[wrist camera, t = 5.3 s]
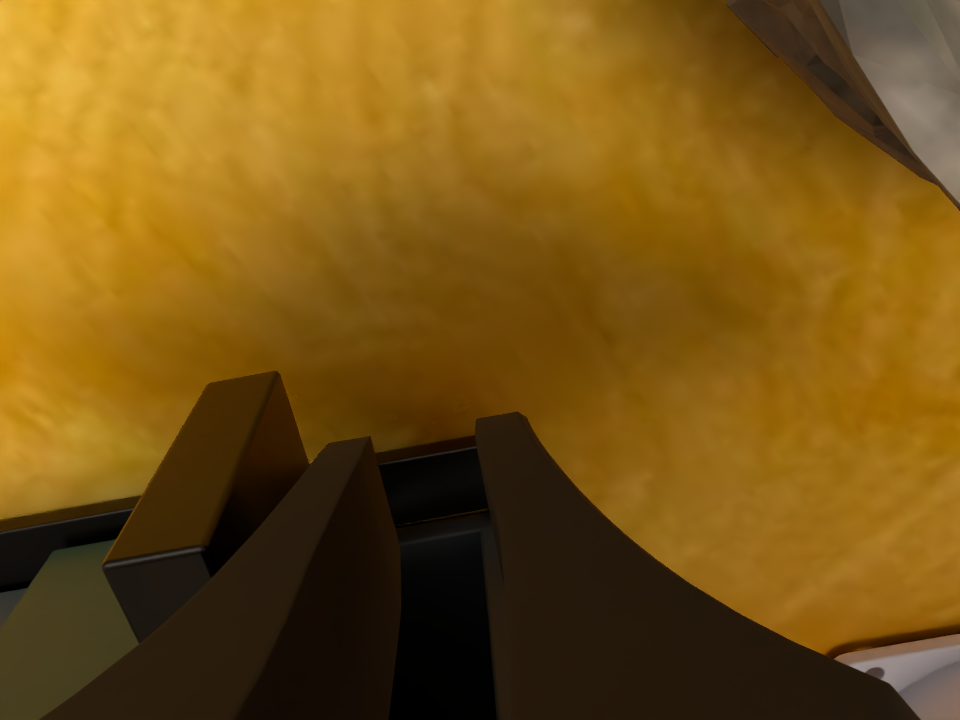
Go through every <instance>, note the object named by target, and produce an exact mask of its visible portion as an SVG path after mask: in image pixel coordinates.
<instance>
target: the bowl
mask: <svg viewBox="0 0 960 720" xmlns="http://www.w3.org/2000/svg"><path fill="white" fill-rule="evenodd" d="M726 2H727V5H728V7H729V8H730V10H731V11H732V12H733V13H734V14H735V15H736V16H737V17H738V18H739V19H740V20H741V21H742V22H743V23H744V24H745V25H746V26H747V27H748V28H749V29H750V30H751V31H752V32H753V33H754V34H755V35H756V36H757V37H758V38H759V39H760V40H761V41H762V42H763V43H764V44H765V45H766V46H767V47H768V48H769V49H770V51H771V52H772V53H773V54H774V55H776V56H777V57H779V58H781V59H782V60H783V61H784V62H785V63H786V64H787V65H788V66H789V67H790V68H791V69H792V70H793V71H794V72H795V73H796V74H797V75H798V76H799V77H800V78H801V79H802V80H803V81H804V82H805V83H806V84H807V85H808V86H809V87H810V88H811V89H812V90H813V91H814V92H815V93H816V94H817V96H818V97H819V98H820V99H821V100H822V101H823V102H824V103H825V105H826V106H827V107H828V108H829V109H830V110H831V111H832V112H833V114H834V115H835V116H836V117H837V118H839V119H840V120H842V121H843V122H844V123H846V124H847V125H849V126H850V127H851V128H853V129H854V130H856V131H857V132H858V133H860V134H861V135H862V136H864V137H865V138H867V139H868V140H869V141H871V142H872V143H874V144H875V145H876V146H878V147H879V148H880V149H882V150H883V151H885V152H886V153H887V154H889V155H890V156H892V157H893V158H894V159H896V160H897V161H898V162H900V163H901V164H903V165H904V166H905V167H907V168H908V169H910V170H911V171H912V172H914V173H915V174H917V175H918V176H919V177H921V178H923V179H925V180H927V181H930V182H932V183H934V184H936V185H938V186H939V187H940V188H941V189H942V191H943V192H944V193H945V194H946V195H947V197H948V198H949V199H950V200H951V201H952V202H953V204H954V205H955V206H956V207H957V208H958V209H959V211H960V0H726Z"/></svg>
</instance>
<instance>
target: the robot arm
mask: <svg viewBox="0 0 960 720" xmlns="http://www.w3.org/2000/svg"><path fill="white" fill-rule="evenodd" d="M475 440H476V446H477V451H478V456H479V461H480V466H481V471H482V476H483V481H484V487H485V492H486V497H487V502H488V507H489V512H490V517H491V522H492V527H493V532H494V537H495V542H496V547H497V552H498V557H499V562H500V567H501V573H502V578H503V583H504V589H505V604H506V619H507V633H508V652H509V671H510V691H511V720H960V634H954V635H948V636H942V637H937V638H931V639H925V640H919V641H913V642H908V643H902V644H896V645H890V646H884V647H878V648H873V649H867V650H861V651H855V652H849V653H845V654H842V655H839V656H838V657H836V658H834V659H832V658H830V657H827V656H825V655H823V654H820V653H818V652H816V651H813V650H811V649H809V648H806V647H804V646H802V645H799V644H797V643H795V642H793V641H791V640H789V639H787V638H785V637H783V636H781V635H779V634H777V633H775V632H773V631H771V630H769V629H768V628H766V627H764V626H762V625H760V624H758V623H756V622H754V621H752V620H750V619H748V618H746V617H745V616H743V615H741V614H739V613H737V612H736V611H734V610H732V609H731V608H729V607H728V606H726V605H724V604H723V603H721V602H719V601H718V600H716V599H715V598H713V597H711V596H710V595H708V594H706V593H705V592H703V591H702V590H700V589H698V588H697V587H695V586H693V585H692V584H690V583H689V582H687V581H686V580H684V579H683V578H681V577H680V576H679V575H677V574H676V573H674V572H673V571H672V570H670V569H669V568H668V567H666V566H665V565H663V564H662V563H661V562H659V561H658V560H657V559H655V558H654V557H653V556H651V555H650V554H649V553H648V552H646V551H645V550H644V549H643V548H641V547H640V546H639V545H638V544H636V543H635V542H634V541H633V540H631V539H630V538H629V537H628V536H627V535H626V534H624V533H623V532H622V531H621V530H620V529H619V528H618V527H617V526H616V525H614V524H613V523H612V522H611V521H610V520H609V519H608V518H607V517H606V516H605V515H604V514H603V513H602V512H601V511H600V510H599V509H598V508H597V507H596V506H594V505H593V504H592V503H591V502H590V501H589V499H588V498H587V497H586V496H585V495H584V494H583V493H582V492H581V491H580V490H579V489H578V488H577V487H576V486H575V484H574V483H573V482H572V481H571V480H570V479H569V478H568V476H567V475H566V474H565V473H564V472H563V471H562V470H561V468H560V467H559V466H558V465H557V464H556V462H555V461H554V460H553V459H552V457H551V456H550V455H549V453H548V452H547V451H546V449H545V448H544V446H543V445H542V444H541V442H540V441H539V439H538V438H537V436H536V435H535V433H534V431H533V430H532V428H531V426H530V424H529V422H528V419H527V417H525V416H524V415H522V414H521V413H519V412H513V413H507V414H501V415H495V416H489V417H483V418H477V419H476V425H475ZM400 616H401V554H400V545H399V541H398V537H397V534H396V530H395V526H394V522H393V519H392V515H391V511H390V508H389V504H388V500H387V496H386V493H385V489H384V485H383V482H382V478H381V474H380V470H379V467H378V463H377V459H376V456H375V452H374V448H373V444H372V441H371V437H370V436H369V437H363V438H357V439H351V440H345V441H339V442H333V443H329V444H328V445H327V446H326V447H325V448H324V449H323V450H322V451H321V453H320V454H319V455H318V456H317V457H316V459H315V460H314V461H313V462H312V464H311V465H310V466H309V467H308V469H307V470H306V471H305V472H304V474H303V475H302V476H301V477H300V479H299V480H298V481H297V482H296V484H295V485H294V486H293V487H292V489H291V490H290V491H289V492H288V493H287V495H286V496H285V497H284V498H283V499H282V501H281V502H280V503H279V504H278V505H277V507H276V508H275V509H274V510H273V511H272V512H271V514H270V515H269V516H268V517H267V518H266V520H265V521H264V522H263V523H262V524H261V526H260V527H259V528H258V529H257V530H256V531H255V532H254V533H253V534H252V535H251V537H250V538H249V539H248V540H247V541H246V542H245V543H244V544H243V545H242V546H241V547H240V548H239V549H238V551H237V552H236V553H235V554H234V555H233V556H232V557H231V558H230V559H229V560H228V561H227V562H226V563H225V564H224V566H223V567H222V568H221V569H220V570H219V571H218V572H217V573H216V574H215V575H214V576H213V577H212V578H211V579H210V580H209V581H208V582H207V583H206V584H205V585H204V586H203V587H202V588H201V589H200V590H199V591H198V592H197V593H196V594H195V595H194V596H193V597H192V598H191V599H190V600H189V601H188V602H186V603H185V604H184V605H183V606H182V607H181V608H180V609H179V610H178V611H176V612H175V613H174V614H173V615H172V616H171V617H170V618H169V619H168V620H166V621H165V622H164V623H163V624H162V625H161V626H160V627H159V628H157V629H156V630H155V631H154V632H153V633H152V634H151V635H149V636H148V637H147V638H146V639H145V640H143V641H142V642H141V643H140V644H139V645H137V646H136V647H135V648H133V649H132V650H131V651H130V652H128V653H127V654H126V655H124V656H123V657H122V658H121V659H119V660H118V661H117V662H115V663H114V664H113V665H112V666H110V667H109V668H108V669H106V670H105V671H104V672H103V673H101V674H100V675H99V676H98V677H96V678H95V679H94V680H92V681H91V682H90V683H89V684H87V685H86V686H85V687H83V688H82V689H81V690H80V691H78V692H77V693H76V694H74V695H73V696H72V697H70V698H69V699H67V700H66V701H65V702H63V703H62V704H60V705H59V706H58V707H56V708H55V709H53V710H52V711H50V712H49V713H48V714H46V715H45V716H43V717H42V718H40V719H39V720H388V719H389V711H390V703H391V694H392V686H393V678H394V669H395V661H396V652H397V643H398V635H399V626H400Z"/></svg>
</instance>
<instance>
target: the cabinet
mask: <svg viewBox="0 0 960 720" xmlns="http://www.w3.org/2000/svg"><path fill="white" fill-rule="evenodd" d="M375 456H376V459H377V463H378V467H379V470H380V474H381V478H382V482H383V485H384V489H385V493H386V496H387V500H388V504H389V508H390V511H391V515H392V519H393V522H394V525H398V524H403V523H409V522H415V521H420V520H426V519H431V518H437V517H443V516H448V515H454V514H459V513H465V512H471V511H476V510H482V509H488V508H489V507H488V502H487V497H486V492H485V487H484V481H483V476H482V471H481V466H480V461H479V456H478V451H477V446H476V440H475V435H474V436H468V437H463V438H457V439H451V440H446V441H440V442H435V443H429V444H424V445H418V446H413V447H407V448H402V449H396V450H391V451H385V452H380V453H375ZM140 498H141V496H137V497H131V498H125V499H120V500H114V501H109V502H103V503H98V504H92V505H87V506H81V507H76V508H70V509H65V510H59V511H54V512H48V513H43V514H37V515H32V516H26V517H20V518H15V519H9V520H4V521H0V627H1V626H2V624H3V623H4V621H5V620H6V618H7V617H8V616H9V614H10V613H11V611H12V610H13V608H14V607H15V605H16V604H17V603H18V601H19V600H20V598H21V597H22V595H23V594H24V592H25V591H26V589H27V588H28V587H29V585H30V584H31V582H32V581H33V579H34V578H35V576H36V575H37V573H38V572H39V571H40V569H41V568H42V566H43V565H44V563H45V562H46V560H47V559H48V558H49V556H50V555H51V553H52V552H53V551H55V550H59V549H65V548H70V547H76V546H81V545H87V544H92V543H98V542H104V541H109V540H115V539H117V537H118V535H119V534H120V532H121V530H122V529H123V527H124V525H125V523H126V522H127V520H128V518H129V517H130V515H131V513H132V511H133V510H134V508H135V506H136V505H137V503H138V501H139V500H140ZM395 530H396V534H397V537H398V541H399V545H400V554H401V616H400V626H399V635H398V643H397V652H396V661H395V669H394V678H393V686H392V694H391V703H390V711H389V719H388V720H511V691H510V671H509V652H508V633H507V619H506V604H505V589H504V583H503V578H502V573H501V567H500V562H499V557H498V552H497V547H496V542H495V537H494V532H493V527H492V522H491V517H490V512H487V513H481V514H476V515H470V516H464V517H459V518H453V519H448V520H442V521H436V522H431V523H425V524H420V525H414V526H408V527H403V528H397V529H395Z"/></svg>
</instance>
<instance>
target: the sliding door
mask: <svg viewBox="0 0 960 720" xmlns="http://www.w3.org/2000/svg"><path fill="white" fill-rule="evenodd" d="M309 466H310V465H309V462H308V459H307V456H306V453H305V450H304V447H303V443H302V440H301V437H300V434H299V431H298V428H297V425H296V422H295V419H294V416H293V413H292V410H291V406H290V403H289V400H288V397H287V394H286V391H285V388H284V385H283V382H282V379H281V376H280V374H279V372H278V371H272V372H267V373H261V374H256V375H250V376H245V377H239V378H234V379H229V380H223V381H218V382H212V383H209V384H208V385H206V387H205V389H204V391H203V392H202V394H201V396H200V397H199V399H198V401H197V402H196V404H195V406H194V408H193V409H192V411H191V413H190V414H189V416H188V418H187V420H186V421H185V423H184V425H183V426H182V428H181V430H180V431H179V433H178V435H177V437H176V438H175V440H174V442H173V443H172V445H171V447H170V448H169V450H168V452H167V454H166V455H165V457H164V459H163V460H162V462H161V464H160V465H159V467H158V469H157V471H156V472H155V474H154V476H153V477H152V479H151V481H150V483H149V484H148V486H147V488H146V489H145V491H144V493H143V494H142V496H141V498H140V500H139V501H138V503H137V505H136V506H135V508H134V510H133V511H132V513H131V515H130V517H129V518H128V520H127V522H126V523H125V525H124V527H123V529H122V530H121V532H120V534H119V535H118V537H117V539H115V540H109V541H104V542H98V543H92V544H87V545H81V546H76V547H70V548H65V549H59V550H55V551H53V552H52V553H51V555H50V556H49V558H48V559H47V560H46V562H45V563H44V565H43V566H42V568H41V569H40V571H39V572H38V573H37V575H36V576H35V578H34V579H33V581H32V582H31V584H30V585H29V587H28V588H27V589H26V591H25V592H24V594H23V595H22V597H21V598H20V600H19V601H18V603H17V604H16V605H15V607H14V608H13V610H12V611H11V613H10V614H9V616H8V617H7V618H6V620H5V621H4V623H3V624H2V626H1V627H0V720H39V719H40V718H42V717H43V716H45V715H46V714H48V713H49V712H50V711H52V710H53V709H55V708H56V707H58V706H59V705H60V704H62V703H63V702H65V701H66V700H67V699H69V698H70V697H72V696H73V695H74V694H76V693H77V692H78V691H80V690H81V689H82V688H83V687H85V686H86V685H87V684H89V683H90V682H91V681H92V680H94V679H95V678H96V677H98V676H99V675H100V674H101V673H103V672H104V671H105V670H106V669H108V668H109V667H110V666H112V665H113V664H114V663H115V662H117V661H118V660H119V659H121V658H122V657H123V656H124V655H126V654H127V653H128V652H130V651H131V650H132V649H133V648H135V647H136V646H137V645H139V644H140V643H141V642H142V641H143V640H145V639H146V638H147V637H148V636H149V635H151V634H152V633H153V632H154V631H155V630H156V629H157V628H159V627H160V626H161V625H162V624H163V623H164V622H165V621H166V620H168V619H169V618H170V617H171V616H172V615H173V614H174V613H175V612H176V611H178V610H179V609H180V608H181V607H182V606H183V605H184V604H185V603H186V602H188V601H189V600H190V599H191V598H192V597H193V596H194V595H195V594H196V593H197V592H198V591H199V590H200V589H201V588H202V587H203V586H204V585H205V584H206V583H207V582H208V581H209V580H210V579H211V578H212V577H213V576H214V575H215V574H216V573H217V572H218V571H219V570H220V569H221V568H222V567H223V566H224V564H225V563H226V562H227V561H228V560H229V559H230V558H231V557H232V556H233V555H234V554H235V553H236V552H237V551H238V549H239V548H240V547H241V546H242V545H243V544H244V543H245V542H246V541H247V540H248V539H249V538H250V537H251V535H252V534H253V533H254V532H255V531H256V530H257V529H258V528H259V527H260V526H261V524H262V523H263V522H264V521H265V520H266V518H267V517H268V516H269V515H270V514H271V512H272V511H273V510H274V509H275V508H276V507H277V505H278V504H279V503H280V502H281V501H282V499H283V498H284V497H285V496H286V495H287V493H288V492H289V491H290V490H291V489H292V487H293V486H294V485H295V484H296V482H297V481H298V480H299V479H300V477H301V476H302V475H303V474H304V472H305V471H306V470H307V469H308V467H309Z"/></svg>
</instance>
